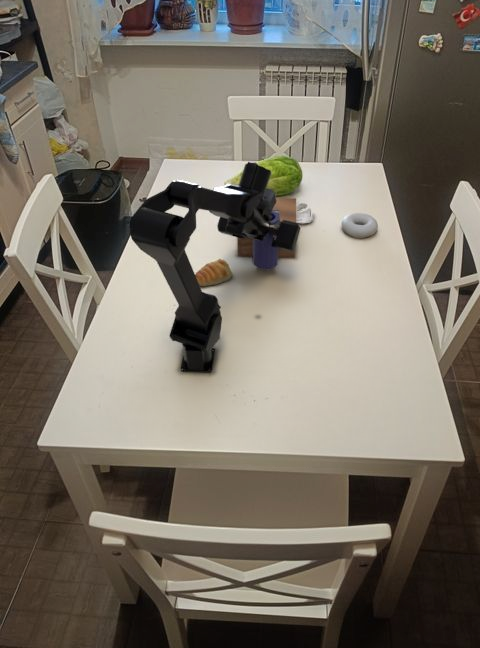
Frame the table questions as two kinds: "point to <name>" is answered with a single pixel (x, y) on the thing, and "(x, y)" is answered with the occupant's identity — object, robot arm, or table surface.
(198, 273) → the pastry
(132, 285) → the table surface
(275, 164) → the lettuce
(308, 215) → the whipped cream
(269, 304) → the table surface
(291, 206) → the bread box lid
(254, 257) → the purple hollow cylinder
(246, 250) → the bread box
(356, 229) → the donut
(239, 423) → the table surface
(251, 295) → the table surface
